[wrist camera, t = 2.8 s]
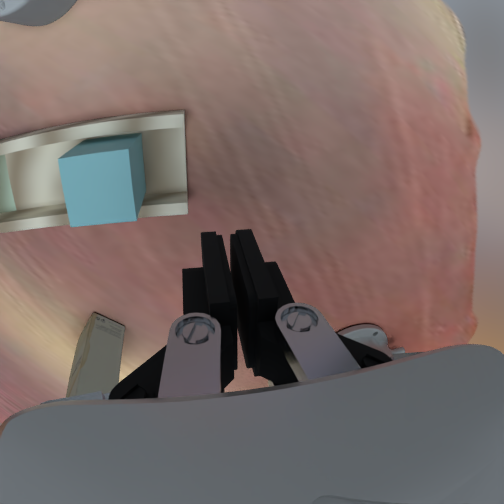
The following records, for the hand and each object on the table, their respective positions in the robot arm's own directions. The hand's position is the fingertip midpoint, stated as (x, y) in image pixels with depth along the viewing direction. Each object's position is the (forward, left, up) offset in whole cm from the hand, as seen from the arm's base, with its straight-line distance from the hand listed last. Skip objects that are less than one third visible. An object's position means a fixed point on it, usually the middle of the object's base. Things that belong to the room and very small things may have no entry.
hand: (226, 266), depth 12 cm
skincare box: (+13, +20, -17) cm, 30 cm away
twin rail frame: (+11, 0, -17) cm, 21 cm away
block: (+7, 0, -16) cm, 18 cm away
